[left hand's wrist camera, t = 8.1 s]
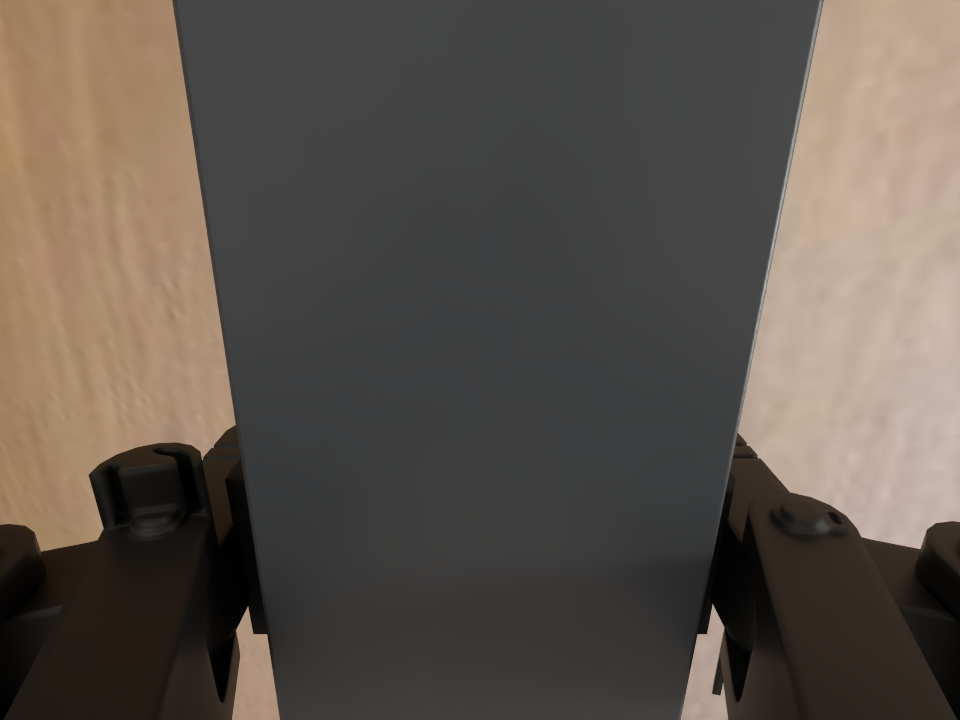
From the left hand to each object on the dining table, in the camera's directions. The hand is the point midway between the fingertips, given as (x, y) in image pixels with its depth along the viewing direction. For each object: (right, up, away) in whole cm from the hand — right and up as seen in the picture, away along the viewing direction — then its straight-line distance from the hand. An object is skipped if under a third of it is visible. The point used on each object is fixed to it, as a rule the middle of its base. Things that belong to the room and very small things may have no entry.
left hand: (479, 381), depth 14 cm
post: (0, -24, +10) cm, 26 cm away
